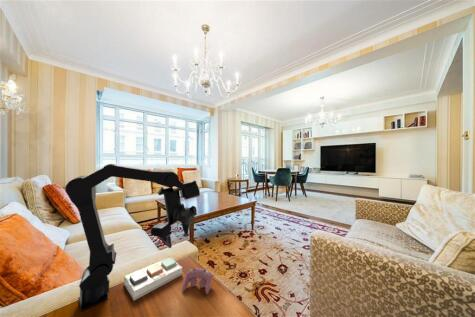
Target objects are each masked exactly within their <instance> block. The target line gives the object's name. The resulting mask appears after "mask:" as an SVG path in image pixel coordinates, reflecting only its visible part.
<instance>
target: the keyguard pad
mask: <svg viewBox="0 0 475 317" xmlns="http://www.w3.org/2000/svg"><path fill="white" fill-rule="evenodd" d="M169 258H172V257H171V256H168V257H166V258H163V259H161V260H158V261H156V262H154V263H152V264H150V265H147V266H144V267H142V268H139V269H137V270H136V271H132V272H130V273H128V274H126V275H124V277H123V285H124V287H125V288H126V290H127V291H128V293H129V295H130V297H131V298H132V300H133V301H136V300H137V299H140V298H141V297H143V296H146V295H147V294H149V293H151V292H152V291H154V290H157V289H159V287H160V288H161V287H162V286H164V285H166V284H167V283H169V282H171V281H173V280H175V279H177V278H178V277H181V276H182V274H183V266H181V265H180V264H179V263H178V262H177V261H176V266H174V267H172V268H170V269H168V270H165V269H164V268H163V267H162V266H161V262H162V261H164V260H167V259H169ZM155 264H159V265H160V266H161V267H162V268H163V272H162V273H160V274H157V275H155V276H153V277H150V276H149V275H148V274H147V273H146V272H147V268H148V267H151V266H153V265H155ZM141 270H144V272H145V273H146V274H147V275H148V278H147V280H145V281H143V282H141V283H139V284H137V285H135V286H133V284H132V283H131V281H130V275H132V274H134V273H137V272H139V271H141Z"/></svg>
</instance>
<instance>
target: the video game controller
mask: <svg viewBox="0 0 475 317" xmlns="http://www.w3.org/2000/svg"><path fill="white" fill-rule="evenodd" d="M212 278H213V275H212V272H211V271H209V270H207V269H205V268H201V267H196V268H190V270H189V269H188V271H187V272H186V274H185V276H184V279H183V282H182V286H181V290H182V292H185V290H186V289H188V288H187V287H188V285H189V283H190V286H191V287H192V288H193V287H195V286H197V284H198V286H199V288H204V287H205V288H204V289H205V290H204V292H205V294H206V295H208V294H209V293H210V289H211V284H212ZM197 279H200V281H199V283H198V280H197Z"/></svg>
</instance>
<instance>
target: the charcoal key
mask: <svg viewBox="0 0 475 317" xmlns="http://www.w3.org/2000/svg"><path fill="white" fill-rule="evenodd" d="M147 278H148V275H147V274H146V273H145V272H144V270H141V271H139V272H137V273H134V274H132V275H130V281H131V283H132V284H133V286H135V285H137V284H139V283H141V282H143V281H145V280H147Z"/></svg>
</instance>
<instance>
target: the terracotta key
mask: <svg viewBox="0 0 475 317" xmlns="http://www.w3.org/2000/svg"><path fill="white" fill-rule="evenodd" d="M162 272H163V268H162V267H161V266H160V265H159V264H155V265H153V266H151V267H148V268H147V272H146V273H147V274H148V275H149V276H150V277H153V276H155V275H157V274H160V273H162Z"/></svg>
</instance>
